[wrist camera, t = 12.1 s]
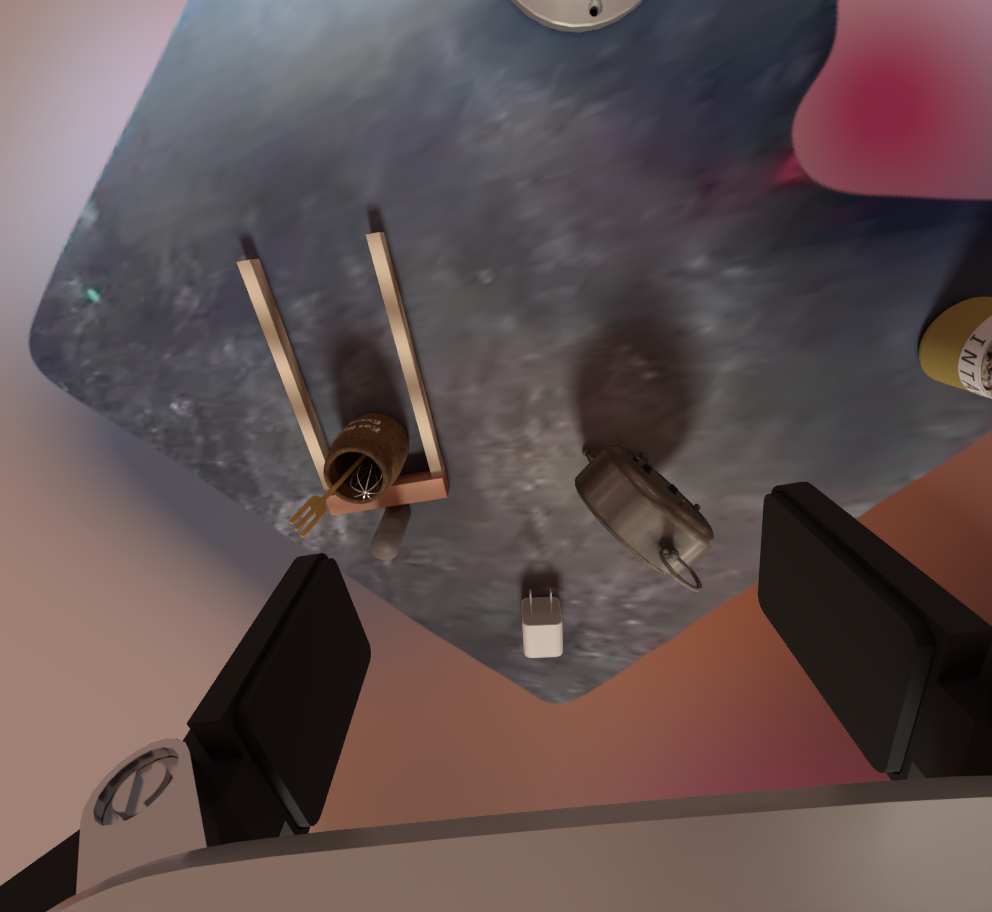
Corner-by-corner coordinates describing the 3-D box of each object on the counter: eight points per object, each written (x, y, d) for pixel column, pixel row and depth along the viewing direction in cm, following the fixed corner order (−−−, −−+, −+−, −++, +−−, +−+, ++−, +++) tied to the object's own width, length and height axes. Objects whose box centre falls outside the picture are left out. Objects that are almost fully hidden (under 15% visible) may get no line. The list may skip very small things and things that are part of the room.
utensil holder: (423, 453, 42) (395, 526, 31) (366, 481, 44) (321, 561, 33) (387, 398, 40) (344, 456, 29) (329, 429, 42) (266, 496, 31)
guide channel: (246, 261, 36) (200, 264, 30) (384, 232, 35) (361, 230, 29) (348, 530, 46) (327, 568, 41) (456, 513, 45) (450, 551, 40)
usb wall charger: (522, 628, 51) (524, 657, 48) (519, 578, 48) (521, 605, 45) (559, 627, 51) (563, 656, 47) (558, 576, 48) (562, 604, 45)
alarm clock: (562, 455, 42) (593, 569, 28) (604, 411, 40) (661, 508, 26) (646, 519, 45) (716, 654, 30) (689, 481, 43) (785, 605, 28)
